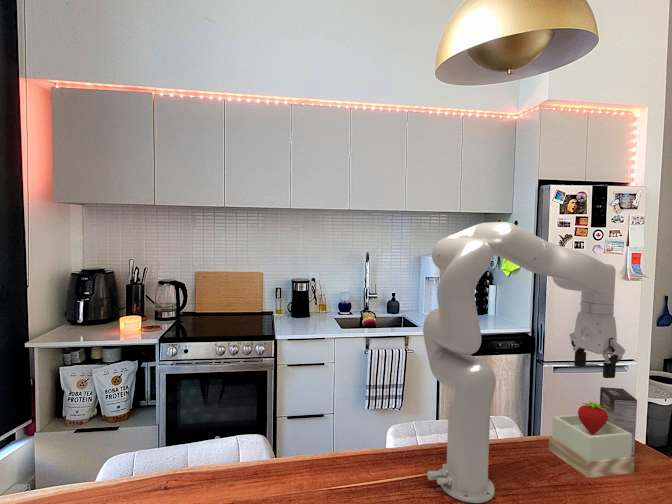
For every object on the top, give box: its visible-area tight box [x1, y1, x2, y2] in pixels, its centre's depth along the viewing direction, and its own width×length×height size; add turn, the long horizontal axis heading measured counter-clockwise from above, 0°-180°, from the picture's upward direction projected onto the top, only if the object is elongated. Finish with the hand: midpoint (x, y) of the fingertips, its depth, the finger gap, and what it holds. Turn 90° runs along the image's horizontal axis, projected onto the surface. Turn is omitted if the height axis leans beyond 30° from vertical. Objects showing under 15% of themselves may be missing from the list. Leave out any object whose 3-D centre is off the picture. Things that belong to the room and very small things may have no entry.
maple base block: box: [548, 435, 635, 479], centre depth 111 cm, size 14×14×4 cm
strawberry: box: [577, 398, 608, 434], centre depth 111 cm, size 6×8×10 cm
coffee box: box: [599, 386, 638, 456], centre depth 119 cm, size 9×6×16 cm
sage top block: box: [551, 413, 632, 461], centre depth 111 cm, size 13×13×6 cm
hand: (593, 371), depth 110 cm, fingers open, 9 cm apart
